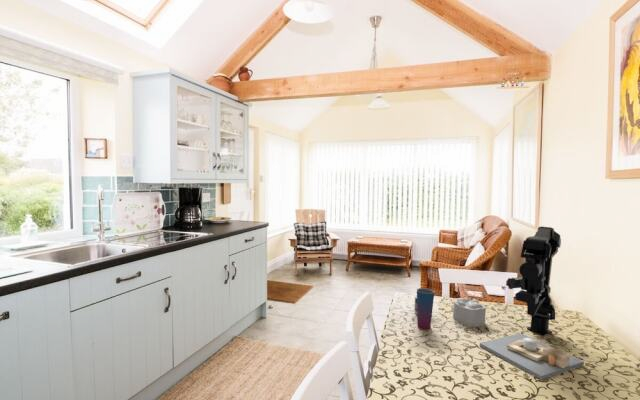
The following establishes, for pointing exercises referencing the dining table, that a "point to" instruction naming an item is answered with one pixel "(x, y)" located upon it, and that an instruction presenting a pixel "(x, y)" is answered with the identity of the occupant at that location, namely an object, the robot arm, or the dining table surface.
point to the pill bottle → (415, 304)
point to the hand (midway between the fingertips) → (531, 315)
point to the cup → (424, 307)
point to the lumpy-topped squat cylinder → (469, 312)
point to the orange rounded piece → (551, 360)
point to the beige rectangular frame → (541, 353)
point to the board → (525, 363)
